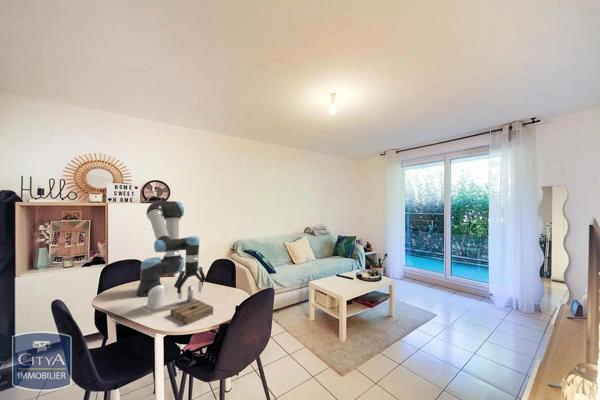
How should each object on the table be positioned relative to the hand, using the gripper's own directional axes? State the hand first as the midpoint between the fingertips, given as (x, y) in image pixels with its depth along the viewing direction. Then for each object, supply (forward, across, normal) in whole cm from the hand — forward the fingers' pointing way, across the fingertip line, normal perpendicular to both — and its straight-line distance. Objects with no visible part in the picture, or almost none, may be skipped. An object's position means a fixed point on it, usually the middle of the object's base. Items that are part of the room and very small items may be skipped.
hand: (190, 295), depth 148 cm
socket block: (+6, -8, -14) cm, 17 cm away
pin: (+5, 0, 0) cm, 5 cm away
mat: (+5, 0, 0) cm, 5 cm away
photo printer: (+6, -15, +11) cm, 20 cm away
